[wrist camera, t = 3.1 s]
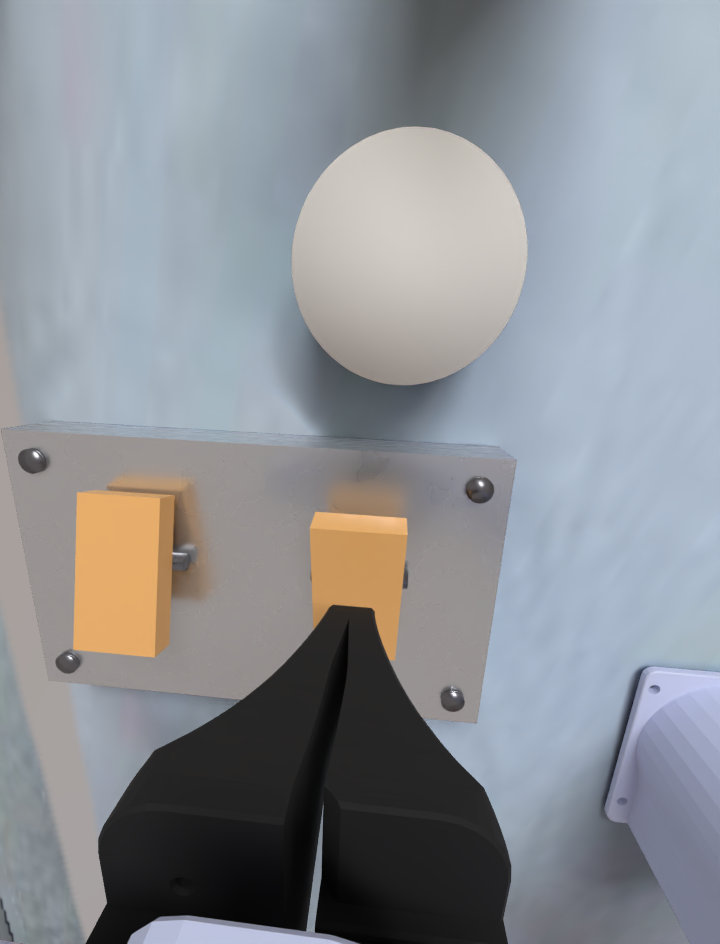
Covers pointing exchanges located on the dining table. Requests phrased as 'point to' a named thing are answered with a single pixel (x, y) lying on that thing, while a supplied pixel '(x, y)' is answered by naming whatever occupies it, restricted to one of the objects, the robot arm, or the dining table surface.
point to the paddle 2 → (359, 567)
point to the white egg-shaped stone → (409, 255)
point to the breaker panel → (268, 549)
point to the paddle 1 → (123, 572)
